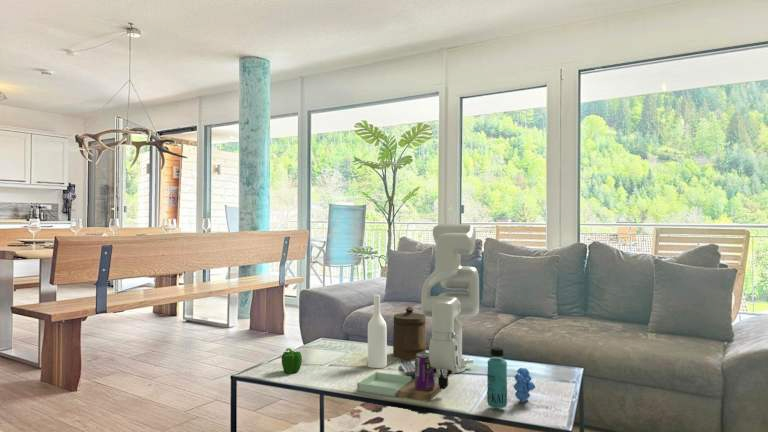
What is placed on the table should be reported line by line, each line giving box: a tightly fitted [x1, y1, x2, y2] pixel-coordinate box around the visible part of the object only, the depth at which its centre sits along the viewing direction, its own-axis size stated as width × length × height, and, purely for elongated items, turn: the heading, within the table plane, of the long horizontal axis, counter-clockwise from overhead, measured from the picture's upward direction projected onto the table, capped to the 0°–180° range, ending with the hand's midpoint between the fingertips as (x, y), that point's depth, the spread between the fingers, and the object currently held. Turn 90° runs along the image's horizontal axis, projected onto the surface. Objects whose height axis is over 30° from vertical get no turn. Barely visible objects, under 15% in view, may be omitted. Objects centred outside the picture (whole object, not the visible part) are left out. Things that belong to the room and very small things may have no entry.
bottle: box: [367, 294, 388, 369], centre depth 221 cm, size 8×8×30 cm
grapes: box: [513, 367, 536, 403], centre depth 176 cm, size 12×7×12 cm, turn 145°
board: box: [396, 379, 443, 402], centre depth 186 cm, size 12×13×2 cm
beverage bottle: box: [486, 347, 508, 409], centre depth 170 cm, size 6×7×20 cm
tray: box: [356, 371, 412, 398], centre depth 192 cm, size 15×15×3 cm
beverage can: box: [414, 351, 436, 390], centre depth 185 cm, size 7×7×12 cm
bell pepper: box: [281, 347, 303, 374], centre depth 213 cm, size 8×8×10 cm
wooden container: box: [392, 306, 427, 360], centre depth 237 cm, size 15×15×22 cm
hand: (443, 387), depth 182 cm, fingers closed
